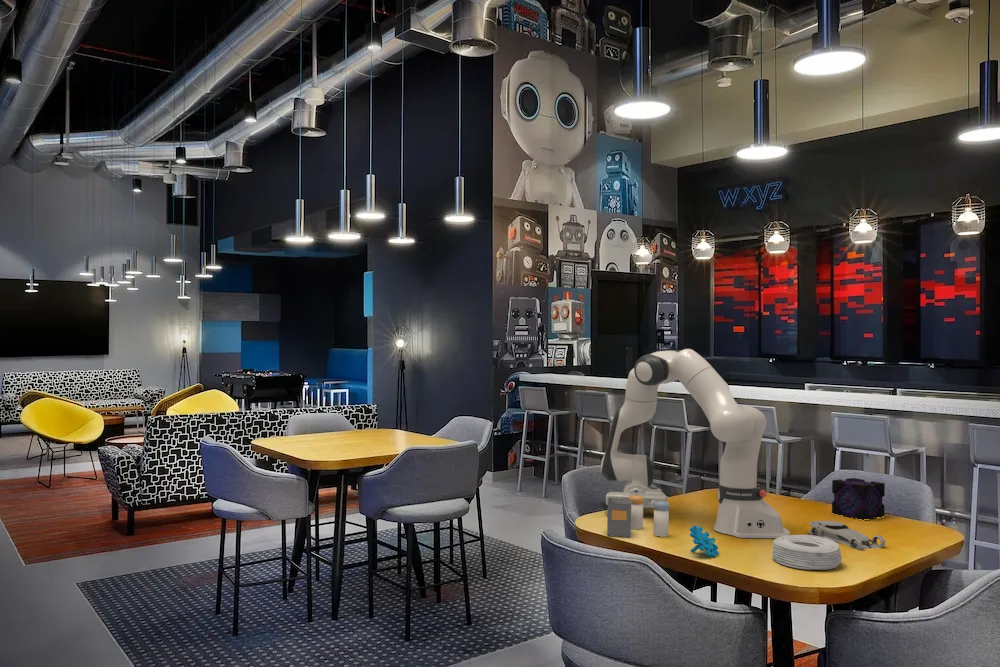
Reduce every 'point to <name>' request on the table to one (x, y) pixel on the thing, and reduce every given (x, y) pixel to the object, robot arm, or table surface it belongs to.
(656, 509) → the blue cap canister
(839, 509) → the energy cube
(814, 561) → the cable
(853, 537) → the car model
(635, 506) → the orange cap canister
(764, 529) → the robot arm
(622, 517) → the box
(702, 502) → the table surface
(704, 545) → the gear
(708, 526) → the table surface
